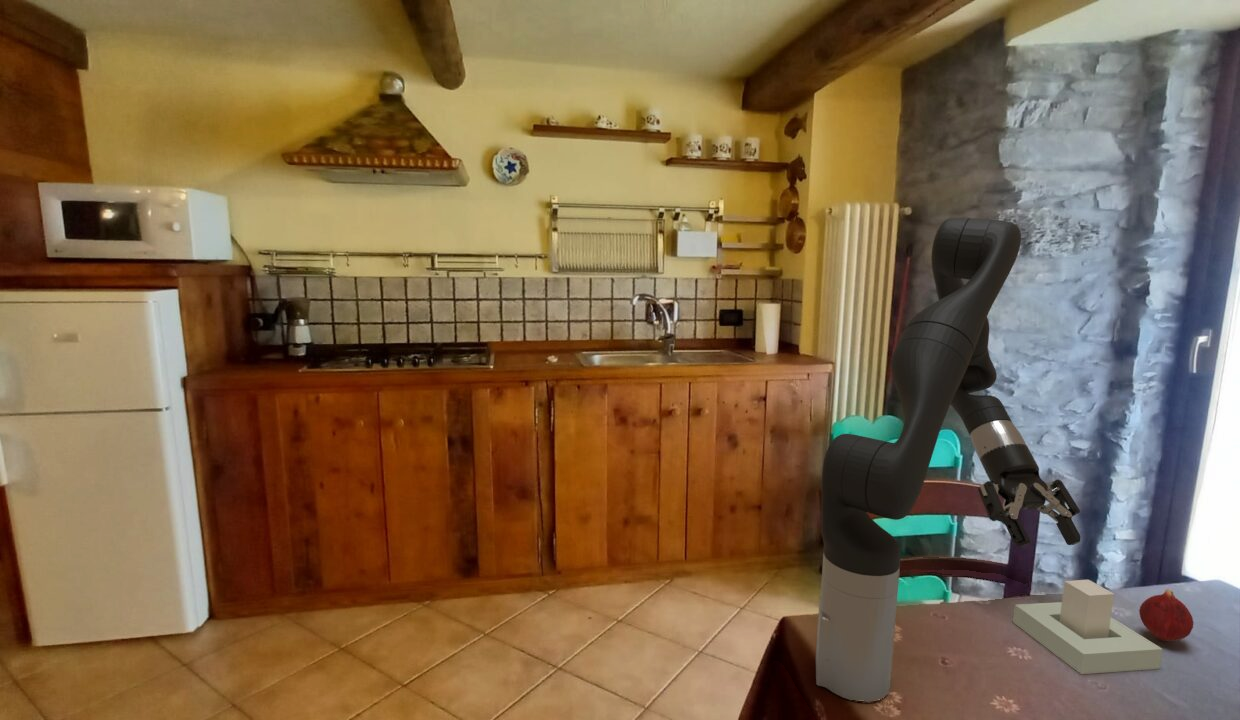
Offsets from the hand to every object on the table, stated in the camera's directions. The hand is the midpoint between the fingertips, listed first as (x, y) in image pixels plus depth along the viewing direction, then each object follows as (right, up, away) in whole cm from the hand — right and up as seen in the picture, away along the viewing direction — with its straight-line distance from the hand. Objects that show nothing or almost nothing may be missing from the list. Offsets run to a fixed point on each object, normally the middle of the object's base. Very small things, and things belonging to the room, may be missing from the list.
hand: (1049, 544), depth 91 cm
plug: (+1, -13, -5) cm, 14 cm away
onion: (+14, -13, -4) cm, 19 cm away
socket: (+1, -13, -5) cm, 14 cm away
